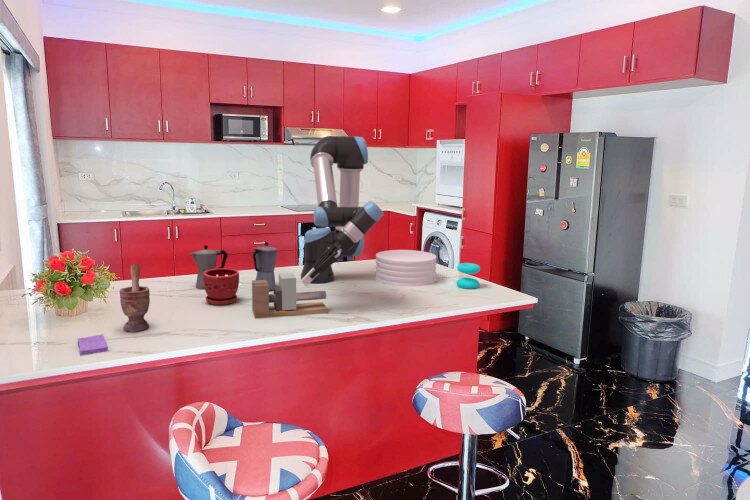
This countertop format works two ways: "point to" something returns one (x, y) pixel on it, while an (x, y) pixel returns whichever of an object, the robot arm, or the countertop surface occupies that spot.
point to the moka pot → (265, 264)
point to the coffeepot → (206, 262)
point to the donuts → (468, 269)
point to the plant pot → (221, 285)
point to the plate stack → (405, 268)
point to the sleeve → (288, 290)
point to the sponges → (92, 344)
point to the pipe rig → (263, 310)
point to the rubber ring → (278, 298)
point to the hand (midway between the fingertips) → (303, 283)
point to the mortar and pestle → (135, 302)
